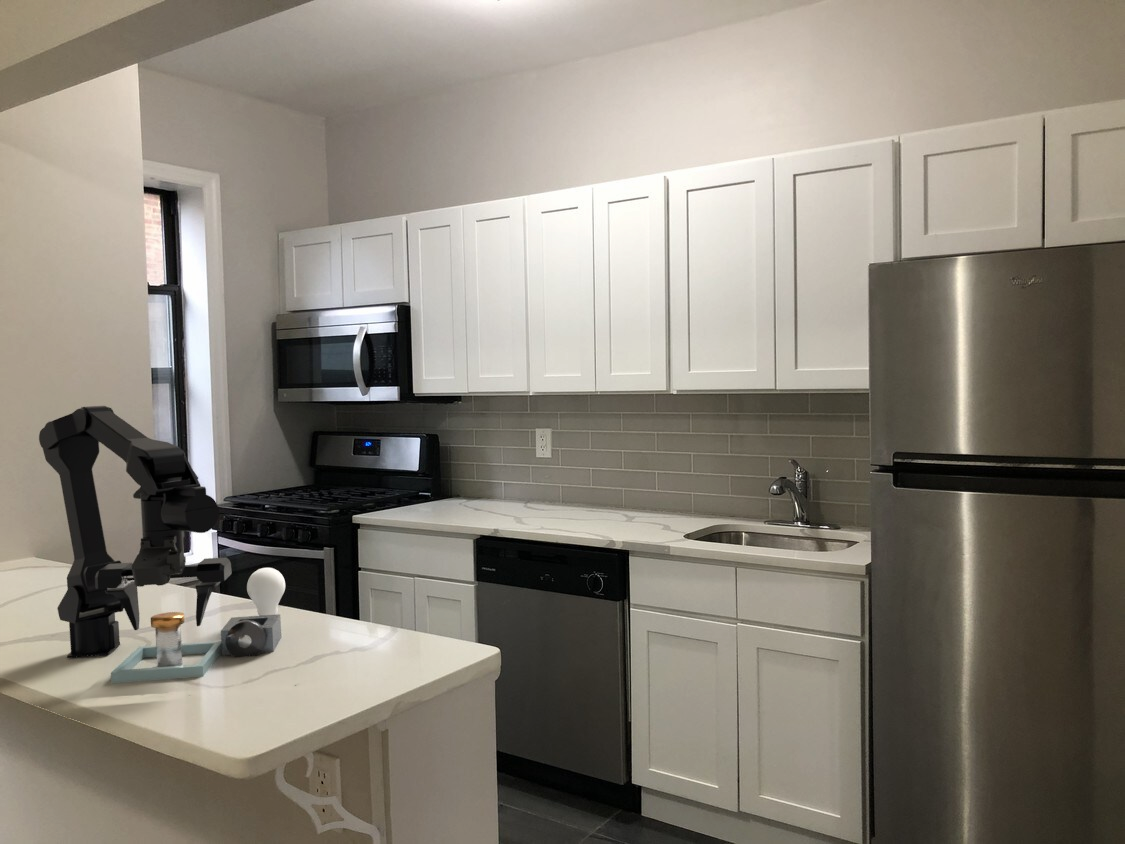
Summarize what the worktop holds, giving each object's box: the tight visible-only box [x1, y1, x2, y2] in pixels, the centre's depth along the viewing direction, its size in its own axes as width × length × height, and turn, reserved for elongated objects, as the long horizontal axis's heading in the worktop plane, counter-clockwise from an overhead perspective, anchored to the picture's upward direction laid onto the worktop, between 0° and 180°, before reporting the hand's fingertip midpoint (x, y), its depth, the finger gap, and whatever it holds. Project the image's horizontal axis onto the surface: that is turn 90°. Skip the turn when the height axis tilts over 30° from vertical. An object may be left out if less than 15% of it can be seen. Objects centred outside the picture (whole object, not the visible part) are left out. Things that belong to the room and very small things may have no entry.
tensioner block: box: [220, 613, 282, 658], centre depth 149 cm, size 8×10×6 cm
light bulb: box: [246, 567, 286, 616], centre depth 164 cm, size 7×7×11 cm
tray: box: [110, 640, 222, 684], centre depth 141 cm, size 13×13×2 cm
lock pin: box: [150, 611, 185, 667], centre depth 141 cm, size 5×5×8 cm
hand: (167, 627), depth 141 cm, fingers open, 9 cm apart
